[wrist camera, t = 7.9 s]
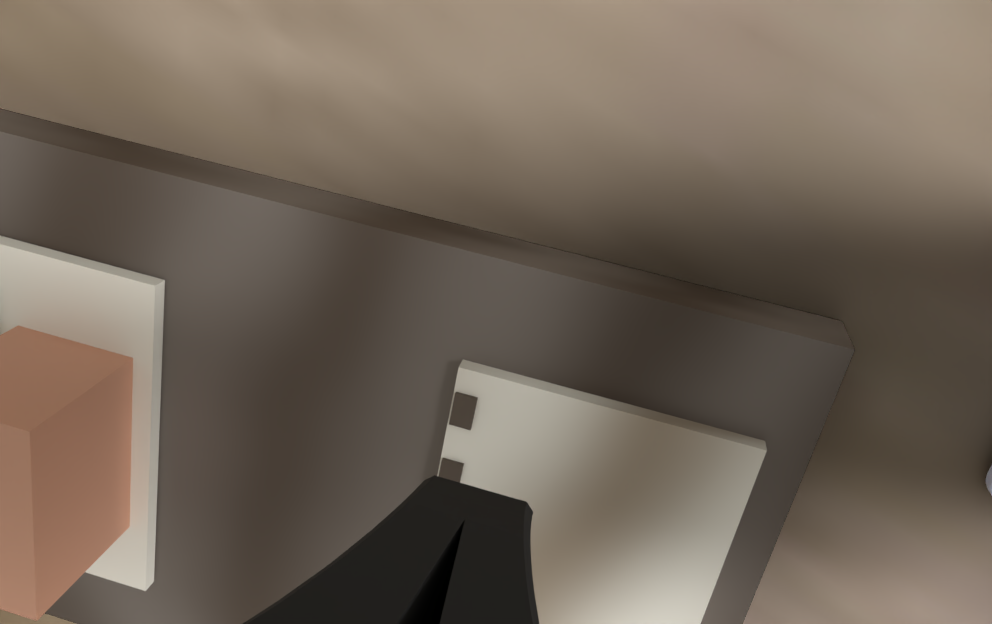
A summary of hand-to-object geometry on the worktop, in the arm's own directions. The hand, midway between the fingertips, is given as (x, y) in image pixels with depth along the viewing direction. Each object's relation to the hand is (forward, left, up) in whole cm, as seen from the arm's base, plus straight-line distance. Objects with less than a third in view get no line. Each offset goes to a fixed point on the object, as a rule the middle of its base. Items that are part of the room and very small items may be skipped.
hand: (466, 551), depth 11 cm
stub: (+12, +6, -8) cm, 15 cm away
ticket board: (+5, +6, -9) cm, 12 cm away
